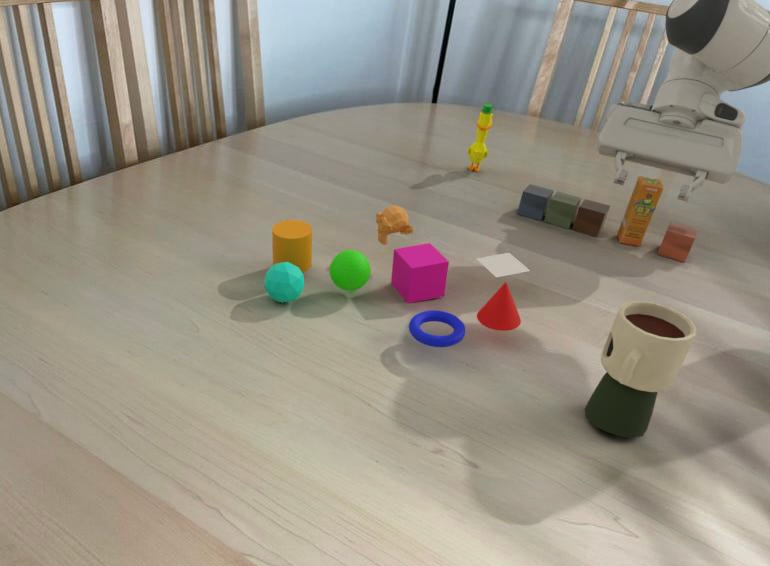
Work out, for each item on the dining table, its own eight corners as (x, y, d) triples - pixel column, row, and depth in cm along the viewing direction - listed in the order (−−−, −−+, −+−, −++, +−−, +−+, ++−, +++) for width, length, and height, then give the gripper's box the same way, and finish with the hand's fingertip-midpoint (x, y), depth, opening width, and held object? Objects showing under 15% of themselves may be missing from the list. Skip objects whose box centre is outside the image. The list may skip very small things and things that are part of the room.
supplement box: (618, 243, 115) (640, 182, 109) (616, 234, 118) (637, 174, 112) (641, 247, 115) (664, 186, 109) (638, 238, 117) (660, 178, 112)
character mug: (600, 386, 84) (640, 285, 76) (664, 415, 80) (712, 313, 73) (560, 431, 76) (599, 325, 69) (628, 466, 73) (677, 358, 65)
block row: (523, 206, 124) (529, 183, 122) (688, 252, 114) (698, 229, 112) (516, 214, 121) (522, 191, 119) (684, 262, 112) (695, 238, 109)
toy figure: (467, 161, 140) (481, 96, 133) (486, 164, 139) (501, 100, 133) (462, 173, 135) (476, 106, 128) (481, 176, 134) (497, 110, 127)
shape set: (238, 265, 103) (236, 217, 98) (463, 227, 112) (470, 182, 108) (312, 395, 80) (313, 341, 76) (585, 334, 90) (599, 283, 85)
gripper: (615, 86, 117) (583, 163, 115) (757, 116, 109) (725, 199, 107) (611, 108, 123) (581, 182, 121) (747, 138, 115) (716, 217, 113)
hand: (650, 190), depth 114 cm, fingers open, 8 cm apart
